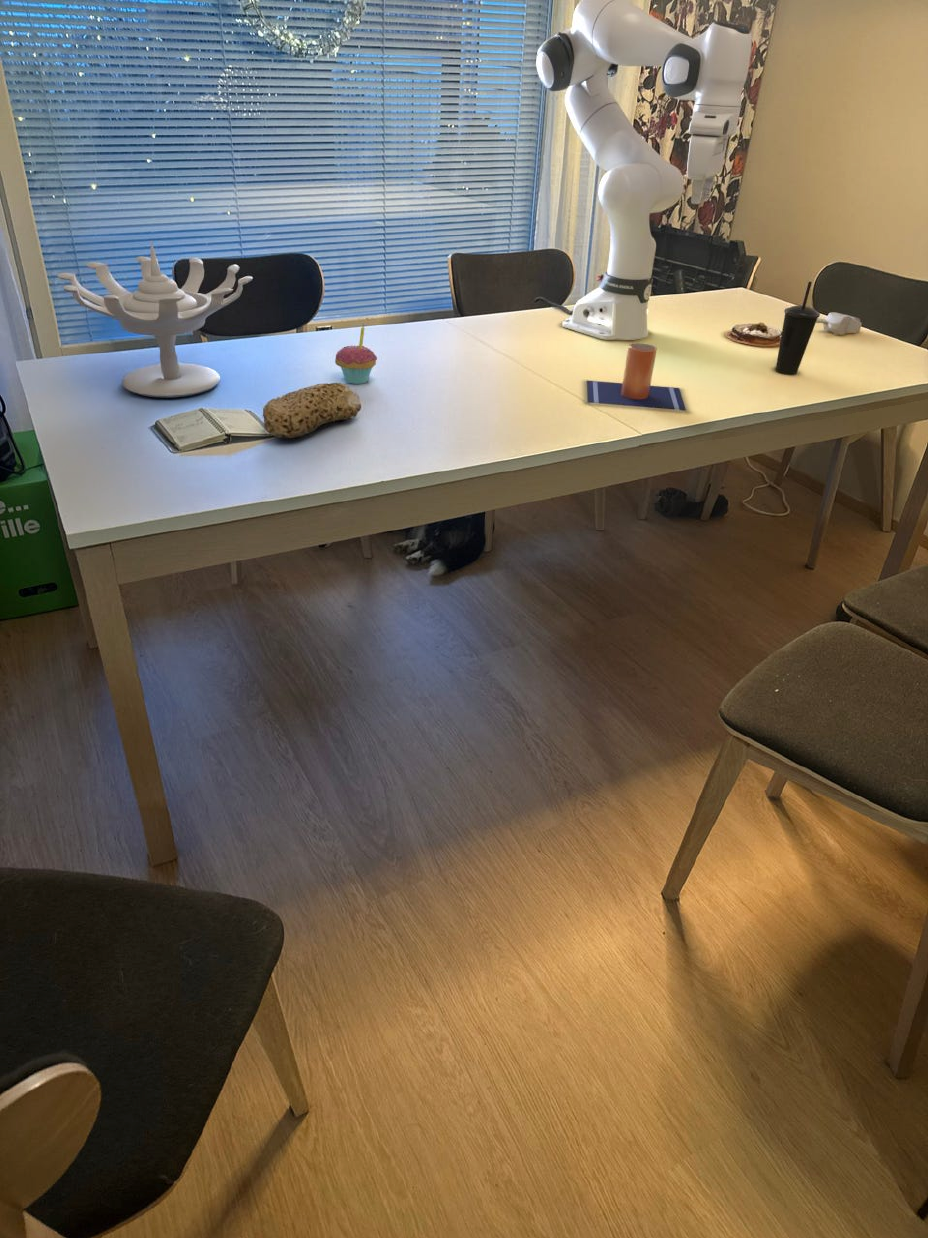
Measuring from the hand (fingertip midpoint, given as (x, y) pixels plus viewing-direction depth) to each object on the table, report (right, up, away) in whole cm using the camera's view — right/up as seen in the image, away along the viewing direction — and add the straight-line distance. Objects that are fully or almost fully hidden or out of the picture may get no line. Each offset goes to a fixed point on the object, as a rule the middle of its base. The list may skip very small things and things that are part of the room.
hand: (700, 200), depth 171 cm
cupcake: (-71, -36, +5) cm, 80 cm away
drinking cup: (+27, -28, +25) cm, 46 cm away
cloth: (-12, -39, +5) cm, 41 cm away
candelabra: (-107, -39, -3) cm, 114 cm away
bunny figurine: (+53, -8, +56) cm, 78 cm away
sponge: (-77, -51, -18) cm, 94 cm away
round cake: (+28, -13, +47) cm, 56 cm away
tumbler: (-12, -38, +5) cm, 41 cm away
